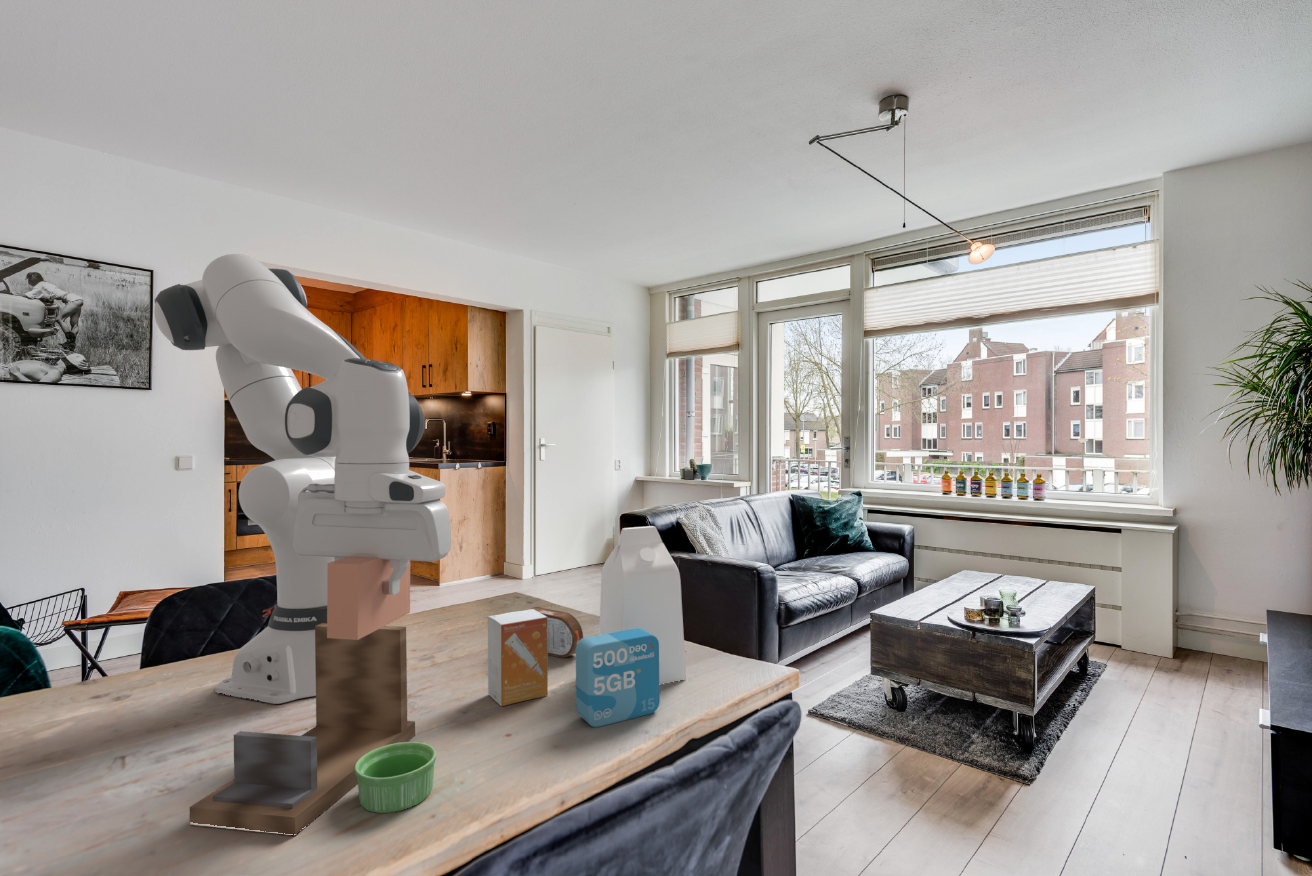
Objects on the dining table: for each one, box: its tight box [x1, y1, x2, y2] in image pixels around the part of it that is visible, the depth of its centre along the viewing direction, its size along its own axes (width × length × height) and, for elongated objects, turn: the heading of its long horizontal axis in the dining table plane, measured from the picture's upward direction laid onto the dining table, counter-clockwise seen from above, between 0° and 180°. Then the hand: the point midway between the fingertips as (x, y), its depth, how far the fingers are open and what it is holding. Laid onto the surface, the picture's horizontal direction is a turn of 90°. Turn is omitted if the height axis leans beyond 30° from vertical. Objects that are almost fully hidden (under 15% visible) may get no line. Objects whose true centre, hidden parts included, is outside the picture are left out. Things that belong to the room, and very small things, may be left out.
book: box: [327, 556, 411, 640], centre depth 85 cm, size 4×12×9 cm, turn 171°
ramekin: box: [355, 741, 437, 814], centre depth 79 cm, size 9×9×4 cm
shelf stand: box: [189, 623, 416, 835], centre depth 83 cm, size 13×24×16 cm, turn 170°
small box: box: [487, 608, 549, 707], centre depth 108 cm, size 8×6×13 cm
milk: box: [598, 525, 687, 685], centre depth 117 cm, size 12×12×26 cm
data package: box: [575, 628, 661, 728], centre depth 100 cm, size 12×4×12 cm, turn 120°
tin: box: [530, 606, 584, 659], centre depth 129 cm, size 15×3×8 cm, turn 58°
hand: (371, 592), depth 85 cm, fingers closed on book, 4 cm apart
